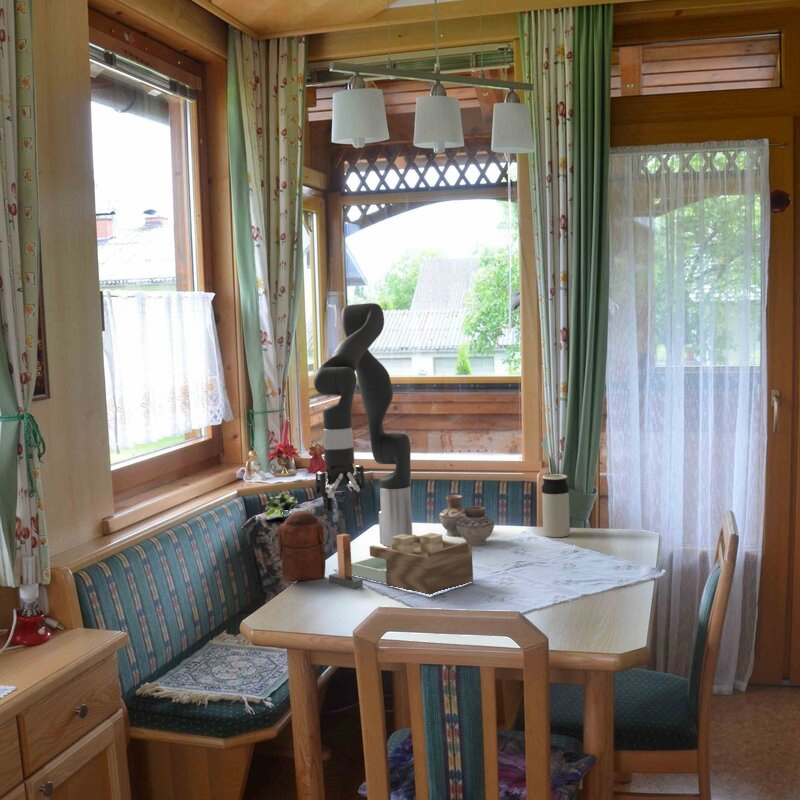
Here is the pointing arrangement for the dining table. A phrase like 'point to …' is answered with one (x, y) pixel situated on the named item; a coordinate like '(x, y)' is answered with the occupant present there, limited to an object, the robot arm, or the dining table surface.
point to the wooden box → (427, 566)
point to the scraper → (344, 565)
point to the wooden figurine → (301, 547)
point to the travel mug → (555, 506)
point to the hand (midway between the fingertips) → (341, 509)
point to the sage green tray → (371, 569)
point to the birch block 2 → (431, 542)
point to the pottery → (466, 521)
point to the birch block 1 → (403, 543)
